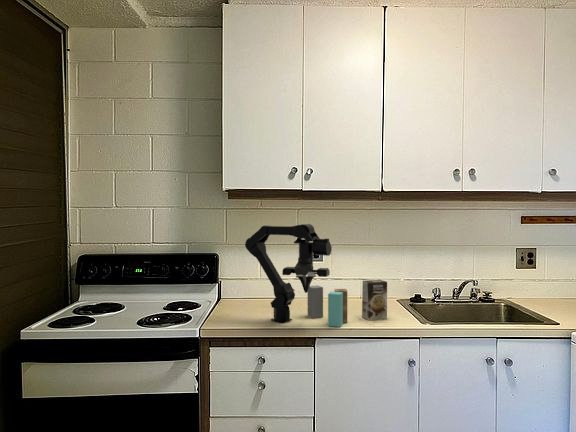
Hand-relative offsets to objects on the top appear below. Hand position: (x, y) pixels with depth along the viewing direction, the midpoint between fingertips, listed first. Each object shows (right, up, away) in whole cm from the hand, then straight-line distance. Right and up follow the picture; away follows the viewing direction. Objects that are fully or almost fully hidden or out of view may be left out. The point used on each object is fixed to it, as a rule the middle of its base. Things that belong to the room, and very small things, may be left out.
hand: (306, 292), depth 182 cm
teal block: (+12, -13, -2) cm, 18 cm away
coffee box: (+30, -13, +10) cm, 34 cm away
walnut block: (+15, -13, +5) cm, 20 cm away
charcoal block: (+4, -13, +12) cm, 18 cm away
